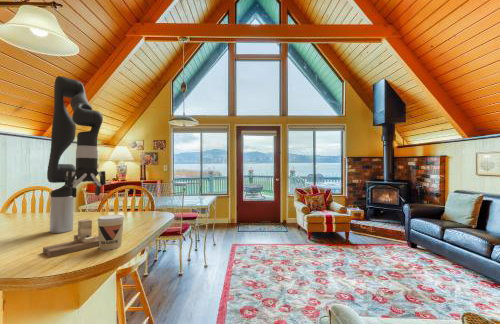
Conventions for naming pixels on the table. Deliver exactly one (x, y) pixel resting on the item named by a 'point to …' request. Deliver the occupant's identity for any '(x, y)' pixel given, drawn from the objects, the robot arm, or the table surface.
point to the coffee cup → (110, 231)
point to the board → (69, 247)
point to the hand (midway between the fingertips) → (86, 196)
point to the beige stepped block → (84, 231)
